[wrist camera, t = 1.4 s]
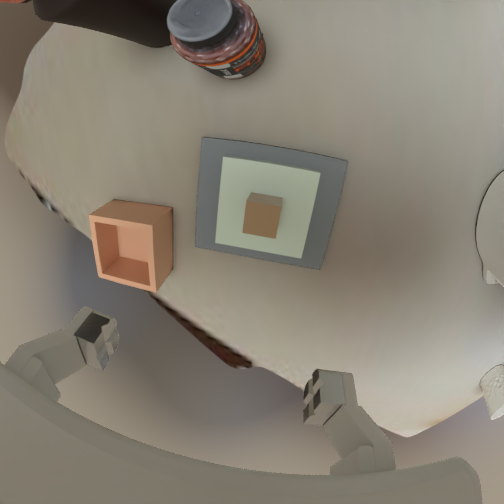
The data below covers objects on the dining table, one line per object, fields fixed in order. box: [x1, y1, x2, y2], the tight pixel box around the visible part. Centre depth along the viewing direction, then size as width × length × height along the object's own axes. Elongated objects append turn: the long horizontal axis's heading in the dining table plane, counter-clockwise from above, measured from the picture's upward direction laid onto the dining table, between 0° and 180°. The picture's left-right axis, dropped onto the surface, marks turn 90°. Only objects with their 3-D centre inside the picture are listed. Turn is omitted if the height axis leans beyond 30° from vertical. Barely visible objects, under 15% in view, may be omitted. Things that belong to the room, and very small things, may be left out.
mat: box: [195, 137, 348, 270], centre depth 27 cm, size 14×12×1 cm
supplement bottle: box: [167, 0, 266, 79], centre depth 16 cm, size 6×6×11 cm
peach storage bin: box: [89, 200, 173, 293], centre depth 29 cm, size 8×8×5 cm
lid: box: [215, 155, 321, 258], centre depth 25 cm, size 9×9×4 cm
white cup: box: [480, 365, 504, 420], centre depth 32 cm, size 8×8×10 cm
